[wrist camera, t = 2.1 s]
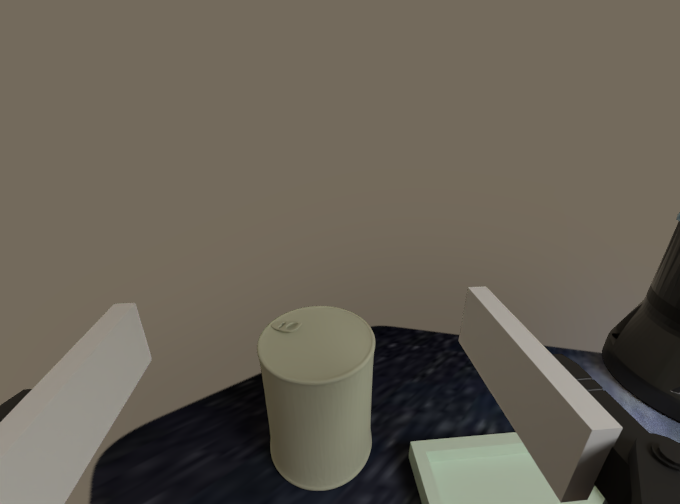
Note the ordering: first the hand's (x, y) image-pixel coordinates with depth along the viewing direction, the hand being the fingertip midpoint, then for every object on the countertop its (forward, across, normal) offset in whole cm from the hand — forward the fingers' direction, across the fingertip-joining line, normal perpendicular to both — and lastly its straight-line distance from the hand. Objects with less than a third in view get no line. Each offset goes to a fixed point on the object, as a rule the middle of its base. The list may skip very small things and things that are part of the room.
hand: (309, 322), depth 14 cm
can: (+10, 0, -20) cm, 23 cm away
